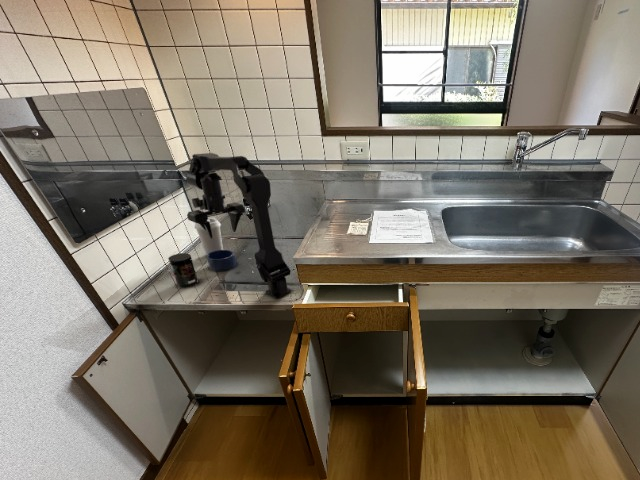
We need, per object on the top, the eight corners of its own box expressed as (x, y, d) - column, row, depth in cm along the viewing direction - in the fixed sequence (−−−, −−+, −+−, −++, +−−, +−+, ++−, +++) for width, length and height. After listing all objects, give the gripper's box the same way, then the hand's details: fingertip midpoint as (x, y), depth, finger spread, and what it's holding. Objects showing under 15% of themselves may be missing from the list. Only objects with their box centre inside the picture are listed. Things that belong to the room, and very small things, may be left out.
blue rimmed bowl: (241, 265, 133) (238, 254, 130) (218, 273, 125) (215, 261, 123) (227, 258, 137) (224, 247, 134) (204, 266, 130) (201, 255, 127)
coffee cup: (222, 259, 136) (213, 225, 128) (198, 259, 135) (188, 224, 127) (231, 250, 144) (223, 217, 136) (208, 250, 143) (199, 217, 135)
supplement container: (190, 277, 122) (182, 251, 116) (202, 281, 119) (195, 256, 114) (173, 284, 116) (163, 258, 111) (185, 289, 114) (176, 262, 108)
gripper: (224, 184, 123) (232, 224, 131) (172, 192, 110) (185, 236, 118) (242, 189, 118) (250, 230, 126) (190, 198, 105) (203, 243, 113)
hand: (223, 234), depth 121 cm, fingers open, 9 cm apart
